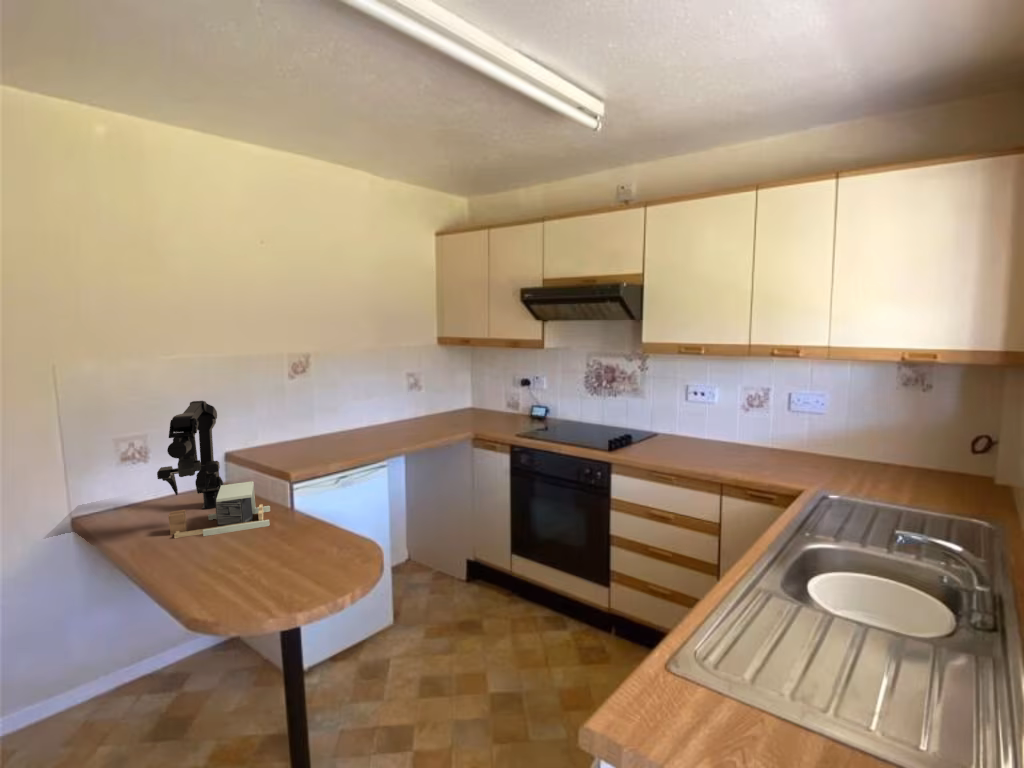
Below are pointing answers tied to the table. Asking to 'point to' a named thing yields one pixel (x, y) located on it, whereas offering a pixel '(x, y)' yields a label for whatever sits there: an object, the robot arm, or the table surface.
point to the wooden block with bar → (180, 526)
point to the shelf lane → (231, 494)
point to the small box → (234, 511)
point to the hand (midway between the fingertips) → (191, 492)
